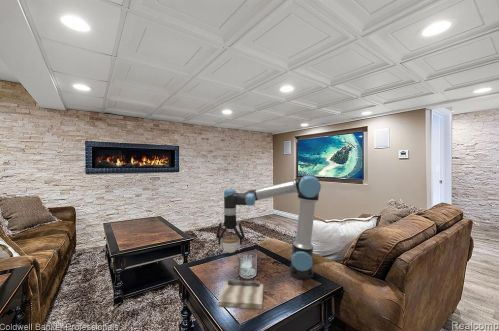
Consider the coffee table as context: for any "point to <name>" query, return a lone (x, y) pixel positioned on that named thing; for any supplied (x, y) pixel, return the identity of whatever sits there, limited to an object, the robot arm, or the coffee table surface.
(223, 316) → the coffee table surface
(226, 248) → the lidded jar
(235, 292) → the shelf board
